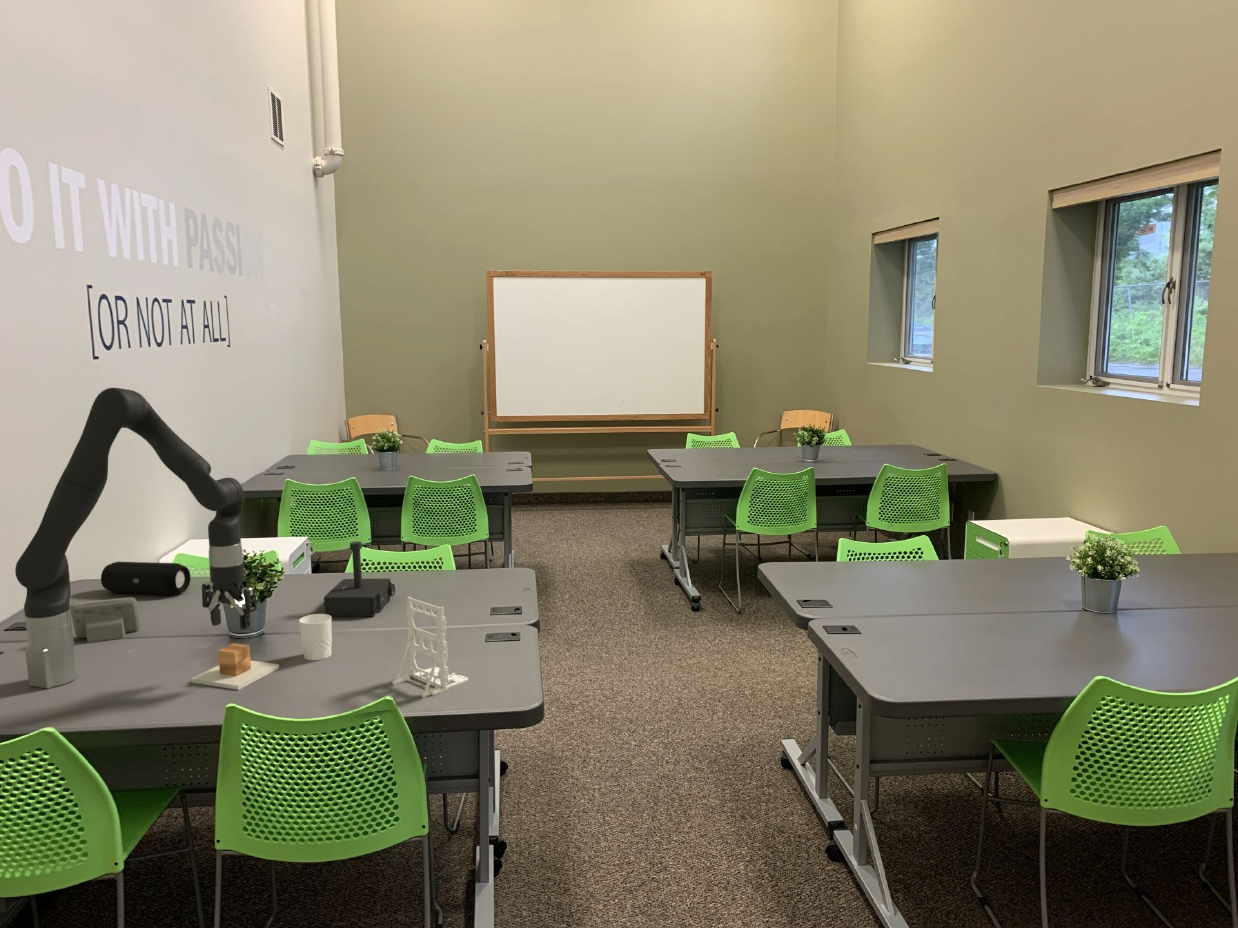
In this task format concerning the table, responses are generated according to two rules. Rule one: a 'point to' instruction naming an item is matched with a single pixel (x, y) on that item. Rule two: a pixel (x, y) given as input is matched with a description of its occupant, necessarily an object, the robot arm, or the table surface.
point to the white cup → (316, 636)
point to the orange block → (234, 659)
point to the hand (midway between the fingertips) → (230, 626)
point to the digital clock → (105, 619)
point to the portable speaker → (145, 578)
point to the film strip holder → (428, 652)
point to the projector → (358, 592)
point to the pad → (235, 682)
